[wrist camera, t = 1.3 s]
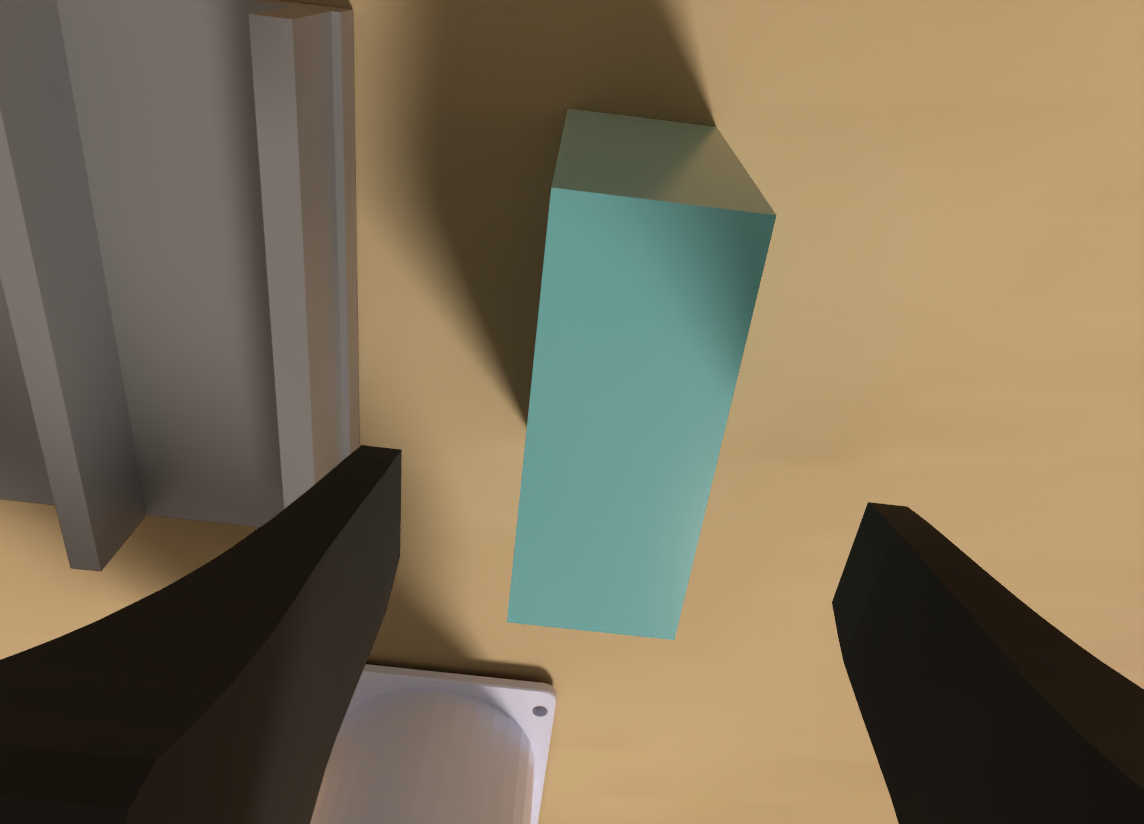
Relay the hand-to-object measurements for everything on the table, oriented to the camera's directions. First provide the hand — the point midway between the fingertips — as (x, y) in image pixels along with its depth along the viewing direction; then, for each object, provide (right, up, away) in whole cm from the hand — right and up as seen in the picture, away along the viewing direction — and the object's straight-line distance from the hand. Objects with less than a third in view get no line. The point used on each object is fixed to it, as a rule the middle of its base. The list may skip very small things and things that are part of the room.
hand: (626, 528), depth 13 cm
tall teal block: (0, +5, +9) cm, 10 cm away
